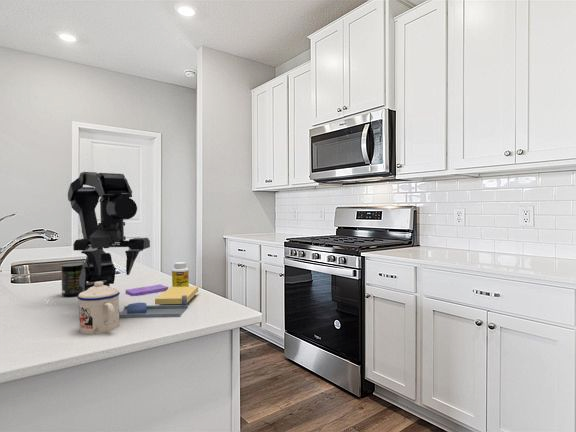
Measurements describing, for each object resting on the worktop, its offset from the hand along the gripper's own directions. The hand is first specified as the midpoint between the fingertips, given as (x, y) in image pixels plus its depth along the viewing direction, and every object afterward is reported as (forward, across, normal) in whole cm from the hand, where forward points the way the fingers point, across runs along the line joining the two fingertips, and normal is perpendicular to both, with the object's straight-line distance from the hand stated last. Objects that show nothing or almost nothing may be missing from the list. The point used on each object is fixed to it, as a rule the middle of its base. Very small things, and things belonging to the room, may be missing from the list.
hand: (113, 275), depth 103 cm
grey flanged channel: (+11, +10, 0) cm, 15 cm away
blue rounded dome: (+11, +6, 0) cm, 12 cm away
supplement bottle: (+11, +12, +26) cm, 31 cm away
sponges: (+12, 0, +27) cm, 30 cm away
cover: (+10, +15, +12) cm, 21 cm away
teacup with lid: (+11, +3, -14) cm, 18 cm away
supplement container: (+11, -24, +25) cm, 36 cm away
